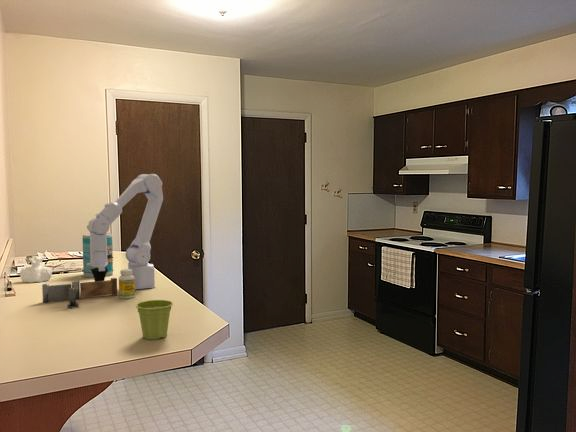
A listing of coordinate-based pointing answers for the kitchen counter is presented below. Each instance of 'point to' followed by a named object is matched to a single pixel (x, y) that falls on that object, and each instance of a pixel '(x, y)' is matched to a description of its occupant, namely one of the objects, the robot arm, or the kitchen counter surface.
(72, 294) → the latch post
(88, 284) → the brown wooden block
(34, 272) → the bust
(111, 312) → the kitchen counter surface
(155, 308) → the plant pot
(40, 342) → the kitchen counter surface
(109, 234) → the food can
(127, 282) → the supplement bottle
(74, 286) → the fence
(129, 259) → the robot arm
